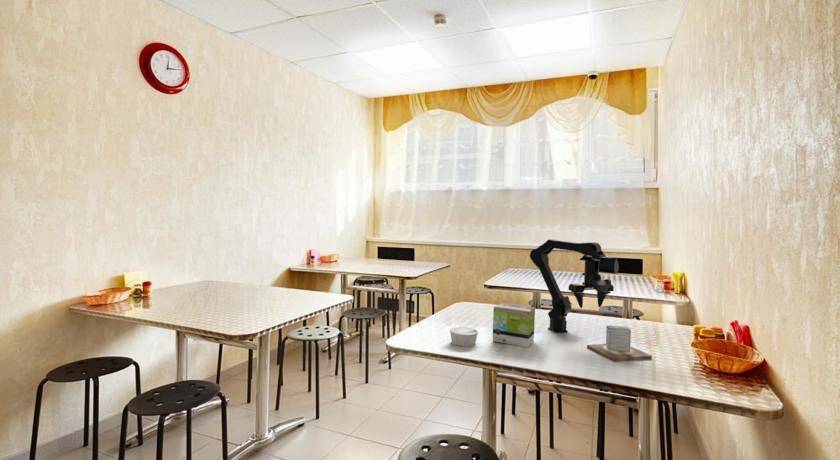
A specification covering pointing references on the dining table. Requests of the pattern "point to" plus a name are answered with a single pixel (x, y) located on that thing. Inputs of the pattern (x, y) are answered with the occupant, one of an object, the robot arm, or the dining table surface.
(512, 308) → the tea box
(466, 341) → the ramekin
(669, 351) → the dining table surface
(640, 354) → the walnut board
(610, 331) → the medicine box
